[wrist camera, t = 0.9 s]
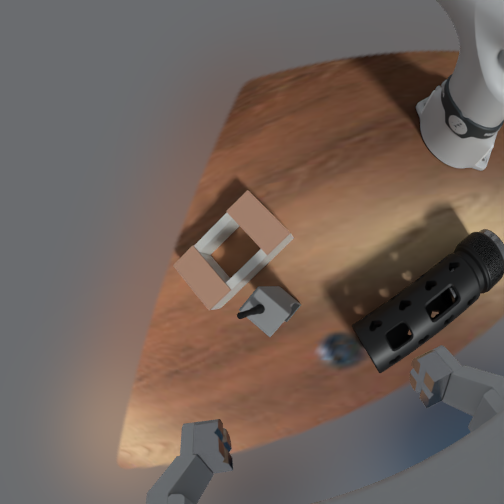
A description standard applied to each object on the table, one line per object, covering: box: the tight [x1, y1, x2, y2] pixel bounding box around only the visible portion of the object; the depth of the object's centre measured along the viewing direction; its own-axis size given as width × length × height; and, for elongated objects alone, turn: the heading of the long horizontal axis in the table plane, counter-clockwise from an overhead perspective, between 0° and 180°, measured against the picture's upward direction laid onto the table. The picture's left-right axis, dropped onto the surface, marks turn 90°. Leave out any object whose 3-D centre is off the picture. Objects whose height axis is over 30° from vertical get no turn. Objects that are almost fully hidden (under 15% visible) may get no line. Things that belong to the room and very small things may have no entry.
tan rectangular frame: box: [173, 190, 294, 310], centre depth 51 cm, size 18×10×6 cm, turn 133°
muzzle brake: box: [352, 229, 504, 373], centre depth 39 cm, size 10×28×10 cm, turn 122°
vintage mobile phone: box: [237, 286, 301, 337], centre depth 38 cm, size 4×5×25 cm
